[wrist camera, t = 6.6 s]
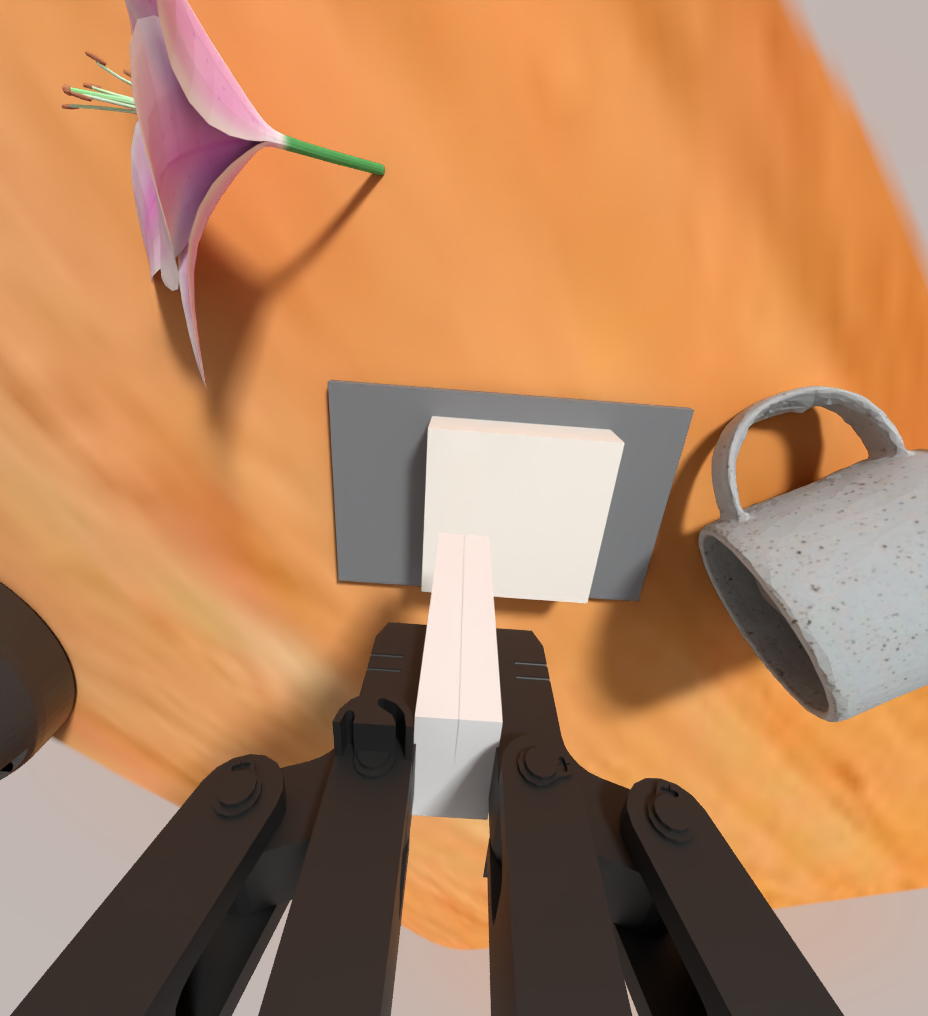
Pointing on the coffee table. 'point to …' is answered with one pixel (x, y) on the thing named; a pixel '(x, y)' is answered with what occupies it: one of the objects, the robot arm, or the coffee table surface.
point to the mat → (408, 410)
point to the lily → (187, 137)
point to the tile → (522, 501)
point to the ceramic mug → (828, 563)
